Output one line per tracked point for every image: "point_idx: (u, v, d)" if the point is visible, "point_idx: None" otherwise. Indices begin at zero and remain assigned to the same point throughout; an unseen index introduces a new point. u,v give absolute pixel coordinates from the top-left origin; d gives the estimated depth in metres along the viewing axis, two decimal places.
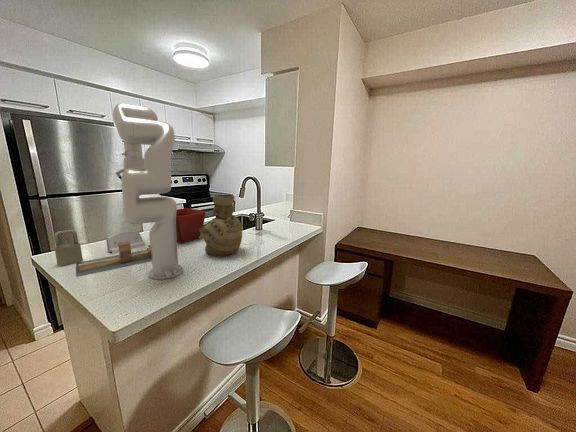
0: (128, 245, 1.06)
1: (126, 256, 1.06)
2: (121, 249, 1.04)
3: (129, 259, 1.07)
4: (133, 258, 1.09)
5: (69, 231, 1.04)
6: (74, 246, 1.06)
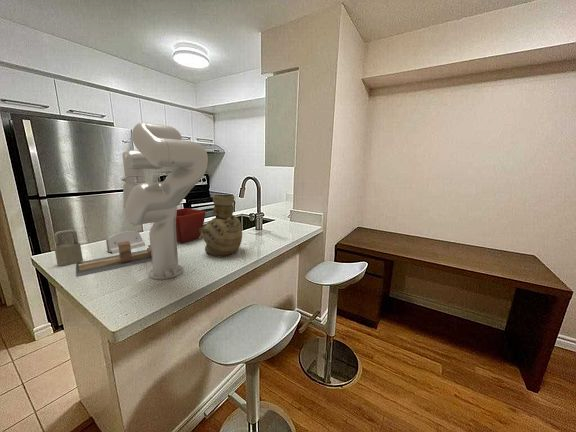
0: (128, 245, 1.06)
1: (126, 256, 1.06)
2: (121, 249, 1.04)
3: (129, 259, 1.07)
4: (133, 258, 1.09)
5: (69, 231, 1.04)
6: (74, 246, 1.06)
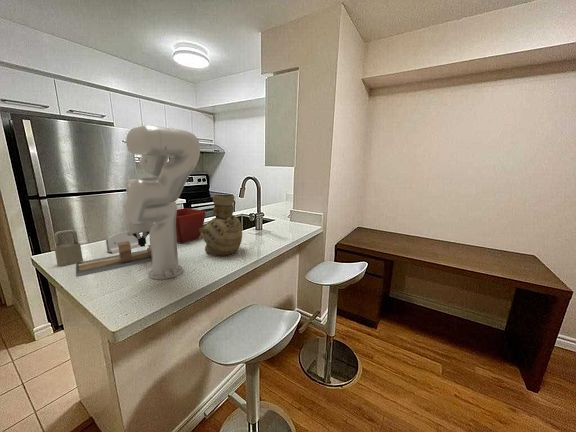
0: (128, 245, 1.06)
1: (126, 256, 1.06)
2: (121, 249, 1.04)
3: (129, 259, 1.07)
4: (133, 258, 1.09)
5: (69, 231, 1.04)
6: (74, 246, 1.06)
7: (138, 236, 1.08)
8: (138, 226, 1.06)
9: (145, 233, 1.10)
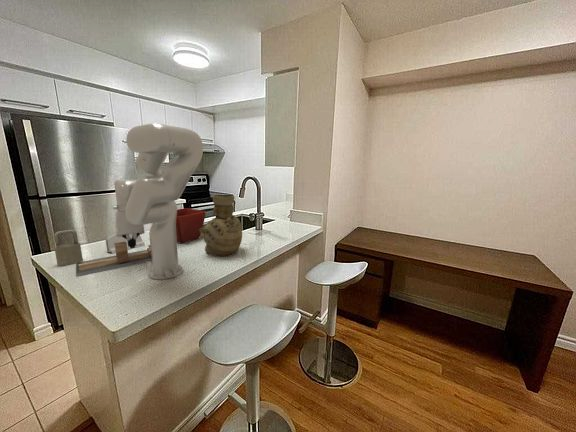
0: (125, 246, 1.05)
1: (123, 257, 1.05)
2: (118, 250, 1.03)
3: (126, 260, 1.06)
4: (133, 258, 1.09)
5: (69, 231, 1.04)
6: (75, 246, 1.06)
7: (128, 237, 1.06)
8: (127, 227, 1.04)
9: (135, 234, 1.07)
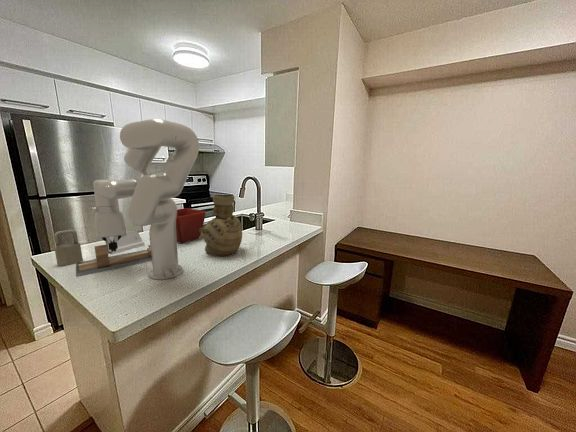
0: (105, 249, 1.00)
1: (103, 260, 1.00)
2: (97, 253, 0.99)
3: (106, 264, 1.01)
4: (133, 258, 1.09)
5: (69, 231, 1.04)
6: (74, 246, 1.06)
7: (108, 240, 1.01)
8: (107, 230, 0.99)
9: (116, 237, 1.03)
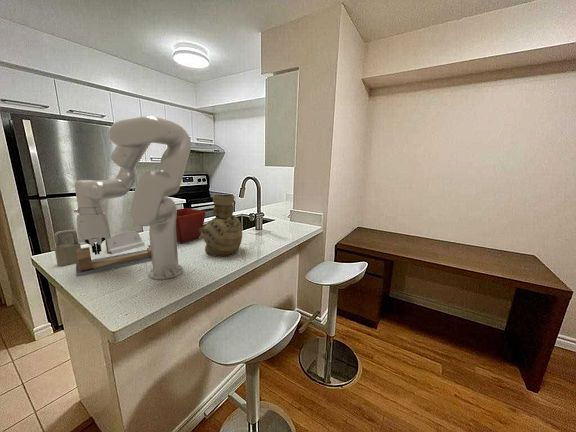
0: (88, 252, 0.97)
1: (85, 264, 0.97)
2: (79, 256, 0.95)
3: (89, 267, 0.98)
4: (133, 258, 1.09)
5: (69, 231, 1.04)
6: (74, 246, 1.06)
7: (91, 243, 0.97)
8: (90, 232, 0.96)
9: (100, 239, 0.99)
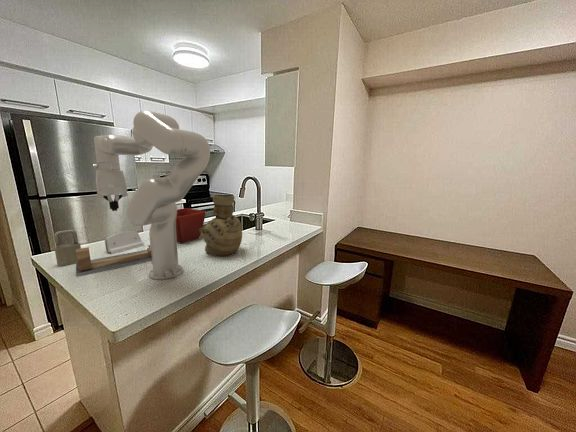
0: (87, 252, 0.96)
1: (85, 264, 0.97)
2: (79, 256, 0.95)
3: (88, 267, 0.98)
4: (133, 258, 1.09)
5: (69, 231, 1.04)
6: (74, 246, 1.06)
7: (109, 199, 1.00)
8: (109, 187, 0.98)
9: (117, 196, 1.02)
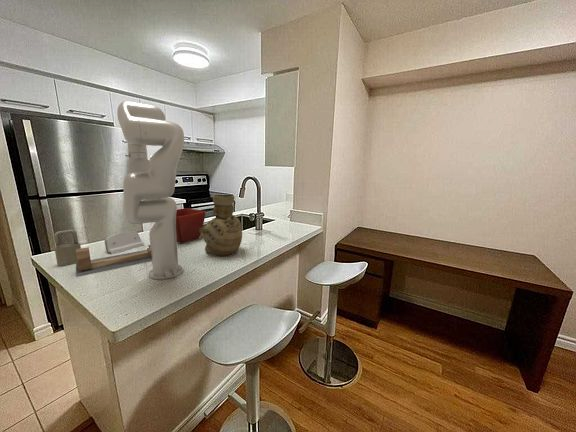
0: (87, 252, 0.96)
1: (85, 264, 0.97)
2: (79, 256, 0.95)
3: (88, 267, 0.98)
4: (133, 258, 1.09)
5: (69, 231, 1.04)
6: (74, 246, 1.06)
7: None
8: None
9: None
